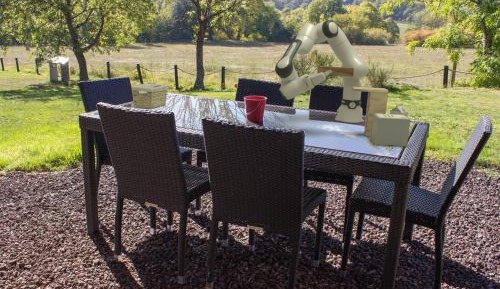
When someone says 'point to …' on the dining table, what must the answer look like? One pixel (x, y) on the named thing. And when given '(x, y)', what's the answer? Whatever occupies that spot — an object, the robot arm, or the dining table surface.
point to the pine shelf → (373, 105)
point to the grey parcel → (390, 131)
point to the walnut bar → (337, 71)
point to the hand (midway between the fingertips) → (330, 70)
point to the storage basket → (149, 95)
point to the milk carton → (399, 110)
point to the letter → (391, 116)
